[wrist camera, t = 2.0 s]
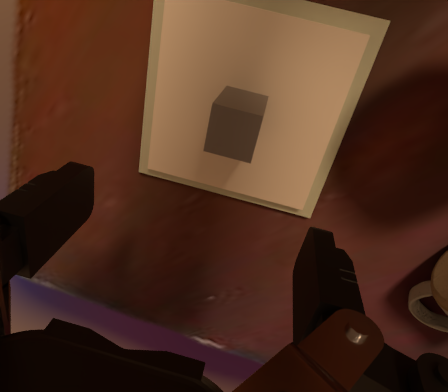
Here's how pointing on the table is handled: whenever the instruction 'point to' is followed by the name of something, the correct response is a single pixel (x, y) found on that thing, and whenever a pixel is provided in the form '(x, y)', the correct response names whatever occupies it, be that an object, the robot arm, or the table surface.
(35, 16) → the table surface
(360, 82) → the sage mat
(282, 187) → the cover board
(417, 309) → the ceramic mug
